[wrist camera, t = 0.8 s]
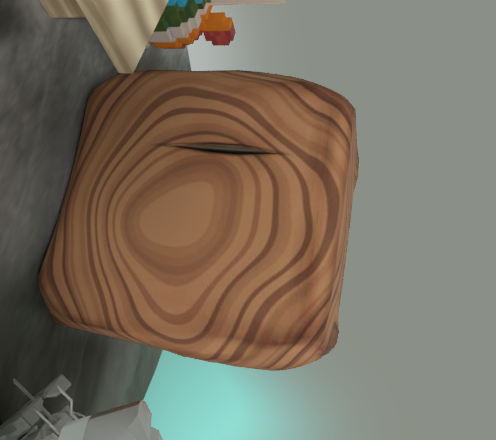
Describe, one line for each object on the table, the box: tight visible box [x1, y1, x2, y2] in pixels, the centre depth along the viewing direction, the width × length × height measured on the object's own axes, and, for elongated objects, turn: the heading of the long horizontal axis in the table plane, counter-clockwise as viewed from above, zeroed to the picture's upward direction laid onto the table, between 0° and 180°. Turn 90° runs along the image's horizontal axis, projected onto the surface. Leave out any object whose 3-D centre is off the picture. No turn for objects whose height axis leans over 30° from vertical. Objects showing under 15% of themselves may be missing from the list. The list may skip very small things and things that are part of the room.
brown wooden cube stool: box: [38, 70, 359, 370], centre depth 77 cm, size 45×45×45 cm
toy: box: [145, 0, 286, 49], centre depth 73 cm, size 18×16×30 cm
